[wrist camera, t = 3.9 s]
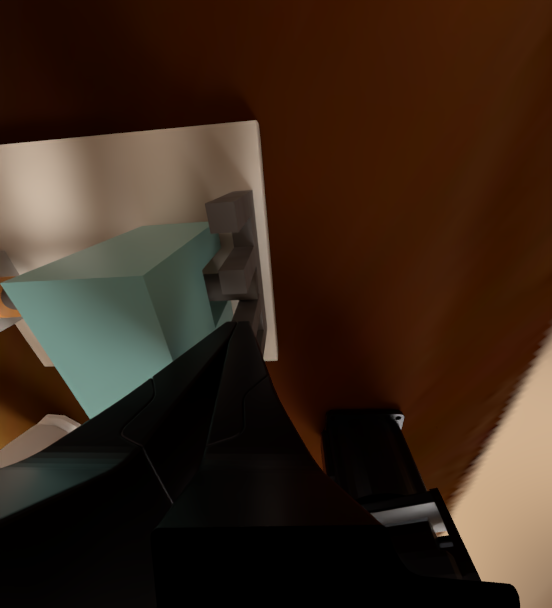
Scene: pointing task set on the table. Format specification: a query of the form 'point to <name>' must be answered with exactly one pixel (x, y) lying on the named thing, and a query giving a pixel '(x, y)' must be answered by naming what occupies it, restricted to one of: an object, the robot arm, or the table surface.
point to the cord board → (142, 208)
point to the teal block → (121, 308)
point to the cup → (37, 438)
